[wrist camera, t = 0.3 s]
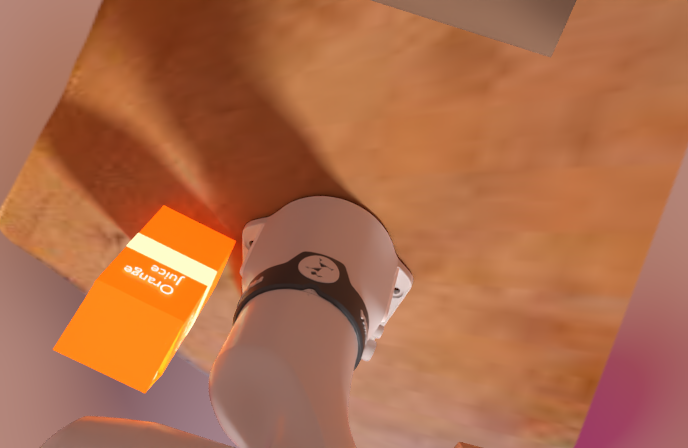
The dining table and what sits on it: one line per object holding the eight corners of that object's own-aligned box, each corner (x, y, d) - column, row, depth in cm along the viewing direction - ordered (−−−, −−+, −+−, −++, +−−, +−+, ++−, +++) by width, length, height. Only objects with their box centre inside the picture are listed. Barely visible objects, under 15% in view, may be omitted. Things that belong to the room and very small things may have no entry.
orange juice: (214, 289, 73) (134, 420, 56) (144, 255, 73) (42, 377, 56) (237, 240, 69) (159, 364, 52) (163, 203, 69) (59, 317, 52)
